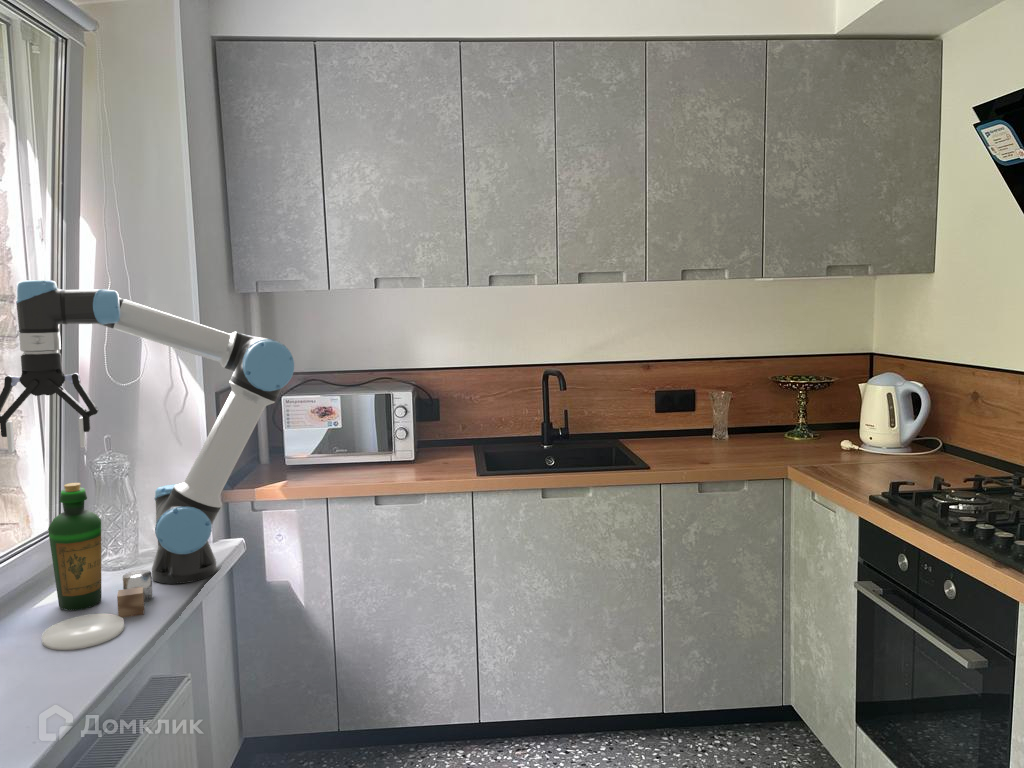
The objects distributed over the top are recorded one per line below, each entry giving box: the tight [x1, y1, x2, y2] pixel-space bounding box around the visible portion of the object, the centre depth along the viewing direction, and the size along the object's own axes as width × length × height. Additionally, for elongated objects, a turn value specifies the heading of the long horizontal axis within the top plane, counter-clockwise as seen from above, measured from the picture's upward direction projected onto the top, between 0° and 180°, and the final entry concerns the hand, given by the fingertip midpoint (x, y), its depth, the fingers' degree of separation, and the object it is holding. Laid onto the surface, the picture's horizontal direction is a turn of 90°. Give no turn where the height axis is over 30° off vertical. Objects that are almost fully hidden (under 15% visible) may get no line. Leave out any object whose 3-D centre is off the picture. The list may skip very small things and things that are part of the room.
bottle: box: [47, 482, 102, 611], centre depth 175 cm, size 11×11×28 cm
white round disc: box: [41, 613, 125, 651], centre depth 161 cm, size 15×15×1 cm
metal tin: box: [122, 569, 154, 604], centre depth 179 cm, size 6×6×6 cm
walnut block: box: [116, 587, 145, 619], centre depth 172 cm, size 5×4×5 cm
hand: (47, 449), depth 169 cm, fingers open, 13 cm apart
